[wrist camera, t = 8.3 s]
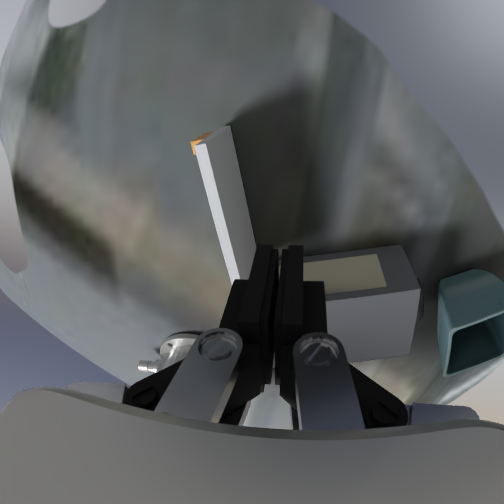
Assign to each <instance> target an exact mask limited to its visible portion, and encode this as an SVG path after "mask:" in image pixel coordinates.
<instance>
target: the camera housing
mask: <svg viewBox="0 0 504 504" xmlns="http://www.w3.org/2000/svg"><path fill="white" fill-rule="evenodd" d="M280 268H281V259H280V260H279V277H280ZM303 281H324V287H325V299H326V314H327V331H328V334H331V335H332V336H334V337H336V338H337V339H338V340H339V341H340V342H341V343H342V345H343V347H344V350H345V353H346V357H347V360H348V363H349V362H358V361H366V360H374V359H381V358H388V357H395V356H401V355H407V354H409V353H410V348H411V344H412V339H413V334H414V328H415V323H416V321H417V320H421V319H422V317H423V312H424V297H423V291H422V286H421V283H420V281H419V279H418V278H417V277H416V276H415V274H414V271H413V269H412V267H411V265H410V262H409V260H408V258H407V256H406V253H405V251H404V249H403V247H402V245H401V244H400V245H392V246H384V247H377V248H369V249H361V250H353V251H345V252H337V253H329V254H321V255H313V256H305V257H303ZM273 368H275V353H274V361H273Z"/></svg>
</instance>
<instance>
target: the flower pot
mask: <svg viewBox="0 0 504 504" xmlns="http://www.w3.org/2000/svg"><path fill="white" fill-rule="evenodd" d="M437 341H438V348H439V354H440V360H441V366H442V373H443V377H448V376H452V375H455V374H458V373H461V372H463V371H466V370H469V369H472V368H474V367H477V366H480V365H482V364H485V363H487V362H490V361H492V360H495V359H497V358H500V357H502V356H504V282H503V281H502V280H501V279H500V278H498V277H497V276H496V275H494V274H492V273H490V272H488V271H484V270H479V269H472V270H469V271H466V272H463V273H460V274H457V275H454V276H450V277H447V278H444V279H442V280H440V282H439V287H438V319H437Z"/></svg>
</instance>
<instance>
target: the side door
mask: <svg viewBox="0 0 504 504" xmlns="http://www.w3.org/2000/svg"><path fill="white" fill-rule="evenodd" d="M191 145H192V149H193V153H194V155H195V154H196V155H197V159H198V162H199V166H200V170H201V174H202V178H203V182H204V185H205V189H206V193H207V197H208V200H209V204H210V208H211V212H212V215H213V219H214V223H215V226H216V230H217V233H218V237H219V241H220V244H221V248H222V251H223V255H224V258H225V262H226V265H227V269H228V272H229V276H230V279H231V283H232V285H233V282H234V280H235V279H249V275H250V271H251V267H252V263H253V259H254V256H255V252H256V244H255V239H254V234H253V230H252V225H251V220H250V216H249V211H248V206H247V202H246V197H245V192H244V188H243V183H242V178H241V174H240V169H239V164H238V160H237V155H236V151H235V146H234V141H233V137H232V132H231V128H230V126H224V127H221V128H219V129H218V130H216V131H214V132H209V133H204V134H202V135H201V136H199V137H197V138H196V139H194V140H193V141H191Z"/></svg>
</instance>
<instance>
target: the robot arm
mask: <svg viewBox="0 0 504 504" xmlns="http://www.w3.org/2000/svg"><path fill="white" fill-rule="evenodd" d="M274 353H275V385H280V396H281V397H282V398H283V399H284V400H286V401H287V402H288V403H289V404H290V416H291V427H292V430H286V429H269V428H256V427H246V426H243V424H244V421H245V418H246V416H247V413H248V410H249V408H250V404H251V400H252V399H253V398H255V397H256V396H258V395H259V394H260V392H264V386H265V384H271V377H272V369H273V361H274ZM160 356H161V360H156V361H155V362H152V361H143V360H141V361H140V362H139V365H138V367H139V370H140V371H141V372H147V373H151V372H153V374H152V375H150V376H148V377H146V378H144V379H142V380H140V381H138V382H136V383H135V384H133V385H132V386H131V387H127V385H126V384H119V383H91V382H74V383H72V384H70V385H69V386H67V387H66V388H61V387H49V386H44V387H32V388H27V389H23V390H21V391H19V392H18V393H16V394H15V395H14V396H13V397H12V398H11V399H10V400H9V401H8V403H7V404H6V405H5V407H4V408H3V410H2V411H1V412H0V504H504V425H502V424H499V423H495V422H491V421H485V420H479V416H478V415H477V413H476V412H475V411H474V410H473V409H471V408H470V407H466V406H452V405H438V404H426V403H416V402H413V403H412V405H406V404H404V403H403V402H402V401H401V400H399V399H398V398H397V397H395V396H394V395H393V394H391V393H390V392H388V391H387V390H386V389H384V388H383V387H381V386H380V385H378V384H377V383H376V382H374V381H373V380H371V379H370V378H369V377H367V376H366V375H364V374H363V373H362V372H360V371H359V370H358V369H356V368H355V367H353V366H352V365H351V364H349V363H348V360H347V357H346V353H345V350H344V347H343V345H342V343H341V342H340V341H339V340H338V339H337V338H336V337H334V336H332V335H331V334H328V331H327V314H326V299H325V287H324V281H303V246H300V245H289V246H288V249H283V250H282V259H281V268H280V277H279V257H278V249H273V246H272V245H257V248H256V252H255V256H254V259H253V263H252V267H251V271H250V275H249V279H235V280H234V282H233V285H232V288H231V291H230V294H229V297H228V301H227V304H226V307H225V310H224V313H223V316H222V320H221V323H220V326H219V328H214V329H210V330H208V331H205V332H203V333H202V334H201V335H196V334H186V333H184V334H176V335H172V336H170V337H168V338H166V339H165V340H164V342H163V344H162V346H161V348H160Z"/></svg>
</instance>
